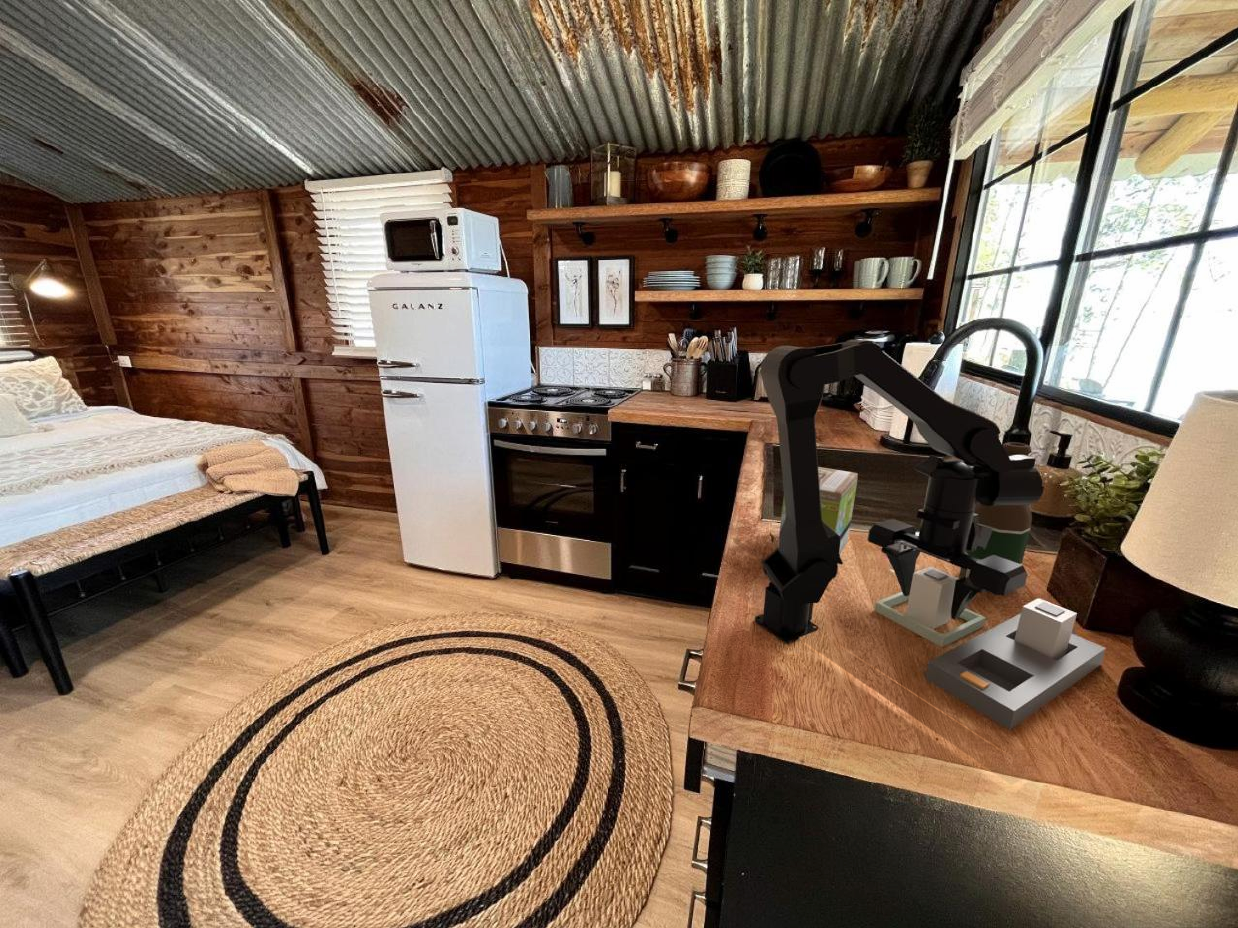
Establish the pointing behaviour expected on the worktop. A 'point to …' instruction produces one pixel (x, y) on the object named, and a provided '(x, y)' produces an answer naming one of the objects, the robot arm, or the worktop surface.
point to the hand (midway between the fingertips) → (929, 606)
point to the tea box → (835, 501)
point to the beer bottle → (1005, 523)
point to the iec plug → (931, 597)
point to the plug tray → (924, 631)
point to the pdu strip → (1010, 673)
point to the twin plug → (1045, 628)
